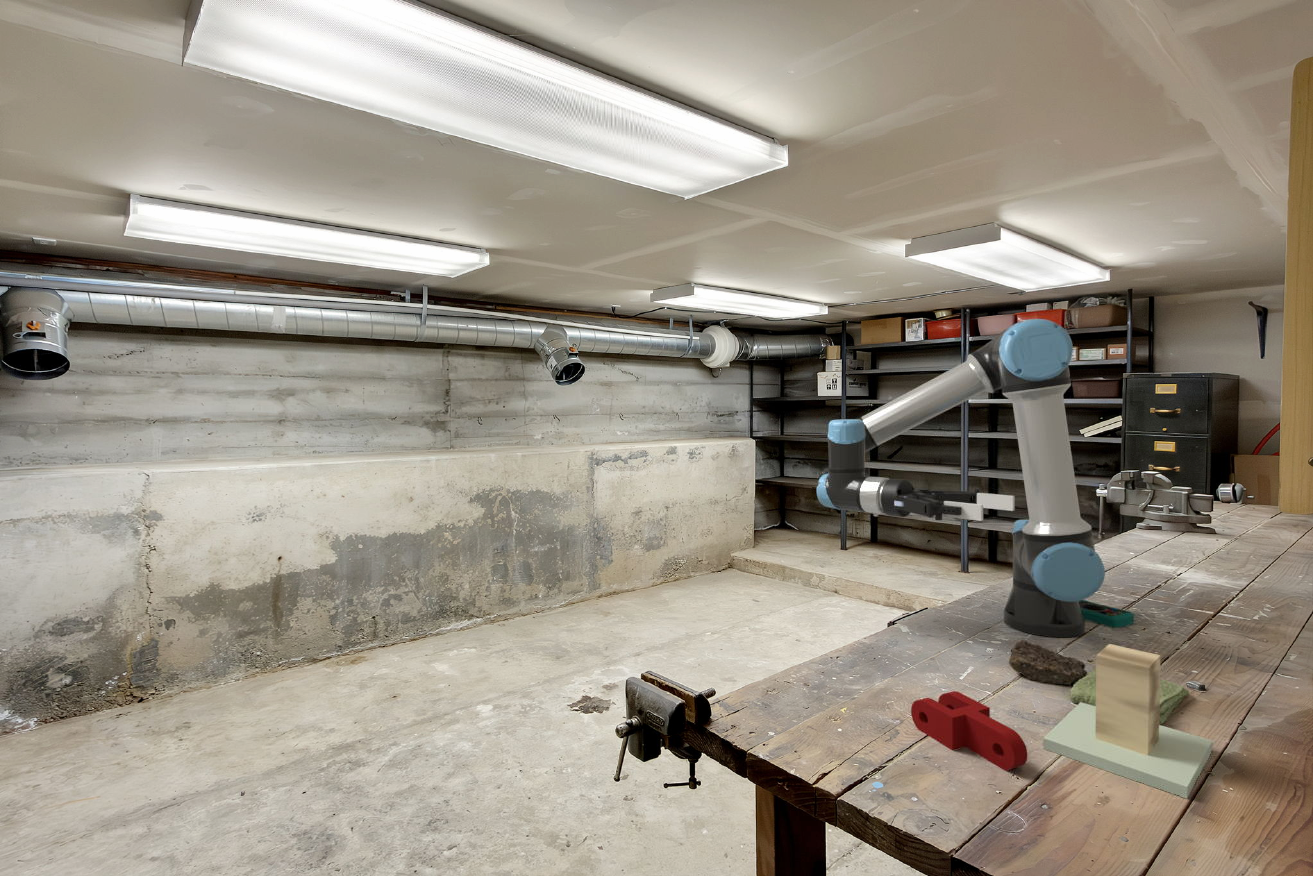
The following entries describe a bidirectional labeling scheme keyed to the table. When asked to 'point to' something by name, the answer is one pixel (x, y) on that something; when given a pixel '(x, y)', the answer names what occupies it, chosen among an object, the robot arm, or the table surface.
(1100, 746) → the sage board
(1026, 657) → the brown rock
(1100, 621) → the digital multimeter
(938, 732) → the mechanical linkage
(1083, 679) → the washcloth
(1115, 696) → the beech block
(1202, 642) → the table surface
